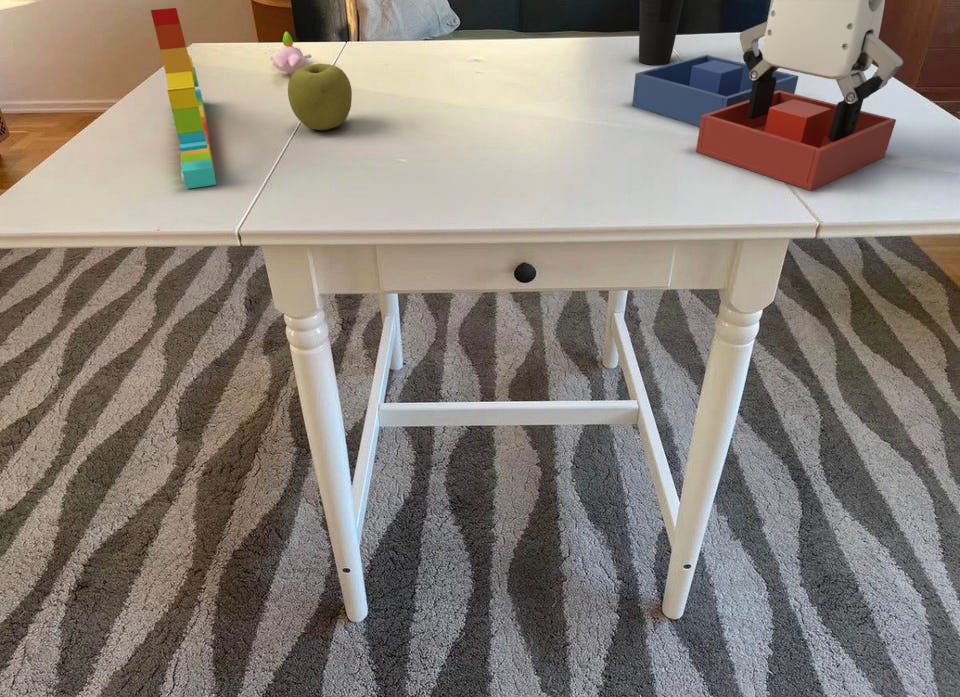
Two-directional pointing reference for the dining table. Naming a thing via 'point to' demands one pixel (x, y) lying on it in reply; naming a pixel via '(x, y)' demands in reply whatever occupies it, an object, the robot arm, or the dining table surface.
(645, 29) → the drinking cup
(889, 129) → the red bin
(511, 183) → the dining table surface
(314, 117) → the apple
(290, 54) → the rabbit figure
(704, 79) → the blue block
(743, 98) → the blue bin
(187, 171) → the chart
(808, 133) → the red block
